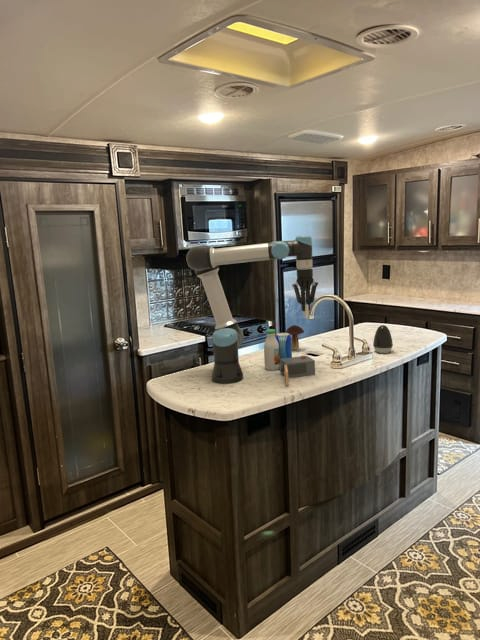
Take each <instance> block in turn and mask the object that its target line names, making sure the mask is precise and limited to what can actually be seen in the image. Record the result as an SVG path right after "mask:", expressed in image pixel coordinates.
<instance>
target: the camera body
mask: <svg viewBox="0 0 480 640" xmlns="http://www.w3.org/2000/svg"><path fill="white" fill-rule="evenodd" d="M315 362H316V361H315V360H314V359H313V358H312V357H310V356H308V355H300V356H292V357H291V358H282V359H280V362H279V369H278V371H279V372H280V373H281V374H282V376H284V364H287V369H288V379H291V378H293V379H294V378H301V377H309V376H315V375H316V363H315Z"/></svg>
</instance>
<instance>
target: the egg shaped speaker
mask: <svg viewBox="0 0 480 640" xmlns="http://www.w3.org/2000/svg"><path fill="white" fill-rule="evenodd" d="M393 344H394V343H393V338H392V334H391V331H390V329H389V327H388V326H387V325H385V324H381V325H379V326H378V327H377V329H376V331H375V334H374V338H373V343H372V346H373V349H374V350H375V352H377V353H379V354H388V353H390V352H391V351H392V349H393Z"/></svg>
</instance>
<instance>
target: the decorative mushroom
mask: <svg viewBox="0 0 480 640" xmlns="http://www.w3.org/2000/svg"><path fill="white" fill-rule="evenodd" d="M284 333H289V335H290V336H291V341H292V351H294V352H296V351H298V350H299V348H300V343H299V336H298V335H300V334H301V335H302V334H304V333H305V331H304V329H303V328H302V327H301V326H299V325H297V324H294V325H291V326H289V327H287V329H286V330H285V332H284Z"/></svg>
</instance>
